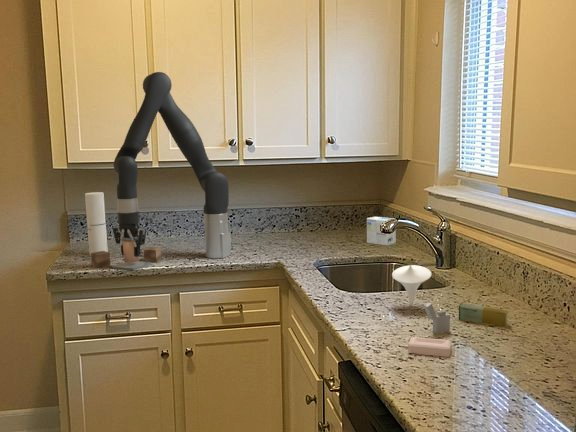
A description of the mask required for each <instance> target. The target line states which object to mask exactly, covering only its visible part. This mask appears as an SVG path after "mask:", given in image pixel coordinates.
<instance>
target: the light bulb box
mask: <svg viewBox="0 0 576 432" xmlns="http://www.w3.org/2000/svg"><path fill="white" fill-rule="evenodd" d="M391 219H396V217H395V218H392V217H384V216H372V217H371V216H370V217H367V218H366V243H368V244H373V245H374V244H375V245H381V246H390V245H394V244H396V243H397V239H396V238H397V237H396V232H397V230H395V231H394V232H393V233H391V234H384V233H381V231H380V225H381V224H382V223H384V222H385V221H388V220H391Z"/></svg>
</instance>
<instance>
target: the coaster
mask: <svg viewBox="0 0 576 432" xmlns="http://www.w3.org/2000/svg"><path fill="white" fill-rule="evenodd" d="M151 265H152V263H151V262H144V261H142V260H141V261H137V262H131V263H127V262H124V261H123V262H121V263H118V264H115V265H112V266H111V269H114V270H124V271H137V270H140V269H142V268H145V267H148V266H151Z"/></svg>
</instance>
